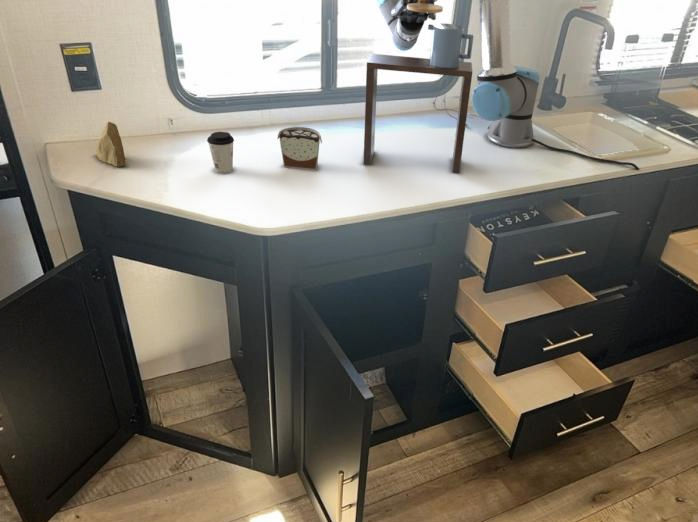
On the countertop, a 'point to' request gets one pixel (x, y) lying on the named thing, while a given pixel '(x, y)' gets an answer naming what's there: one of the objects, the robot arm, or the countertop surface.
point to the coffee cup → (221, 151)
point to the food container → (300, 147)
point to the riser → (418, 67)
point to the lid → (424, 7)
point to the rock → (111, 146)
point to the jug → (448, 45)
